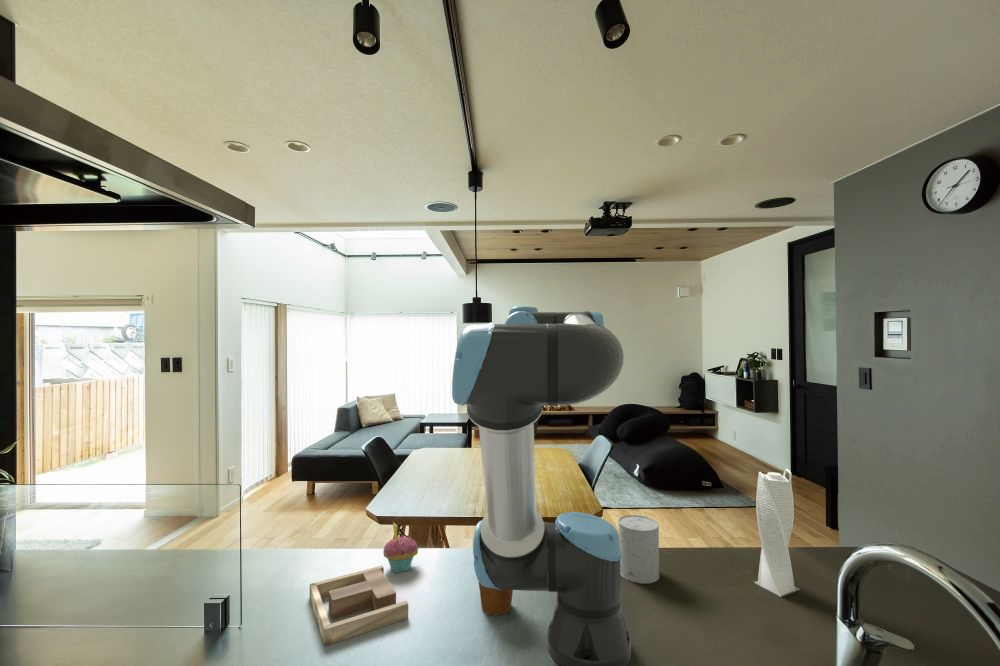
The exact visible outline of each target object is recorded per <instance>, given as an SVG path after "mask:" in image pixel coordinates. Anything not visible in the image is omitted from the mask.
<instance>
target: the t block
mask: <svg viewBox="0 0 1000 666" xmlns="http://www.w3.org/2000/svg"><path fill="white" fill-rule="evenodd" d="M394 604H397V591H396V590H395V589H394V588H393V586H392V584H391V582H390V581H389V580H388V578H387V576H385V573H384V574H383V572H382V571H381V569H380V568H379V569H375V570H372V571H368V572H364V573H362V582H361V583H357V584H353V585H349V586H346V587H342V588H338V589H335V590H331V591H329V596H328V611H329V615H330V617H331V621H334V620H337V619H338V620H339V619H340V618H344V617H347V616H351V615H355V614H357V613H361V612H364V611H367V610H371V609H372V611H374V610H377V609H381V608H384V607H387V606H390V605H394Z"/></svg>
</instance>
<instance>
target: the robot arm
mask: <svg viewBox="0 0 1000 666" xmlns="http://www.w3.org/2000/svg"><path fill="white" fill-rule="evenodd" d="M604 322H605V321H604V316H603V314H602V312H598V311H589V310H585V311H563V312H562V311H560V312H559V311H557V312H555V311H548V312H547V311H544V312H543V311H541V312H539V309H538V308H537V307H534V306H513V307H511V308H509V310H508V317H507V318H506V320H505V323H502V324H501V323H495V322H490V323H488V324H487V323H486V324H484V323H483V324H471V325H468V326H466V327H465V328H464V329H463V330H462V331H461V333H460V335H459V338H458V342H457V345H456V350H455V355H454V361H453V362H454V363H453V369H452V379H451V382H452V383H451V396H452V398H451V399H452V400H453V402H454V403H455V405H460V406H465V405H466V410H467V415H468V418H469V420H470V421H471V422H472V423H473V424H474V425H476V426H478V430H479V431H478V434H479V443H480V444H479V445H480V453H481V463H482V473H483V483H484V494H485V503H486V504H485V505H486V513H485V514H484V517H483V518H482V520H479V521H478V522H477V524H476V526H475V528H474V533H473V539H472V540H473V541H472V554H473V567H474V572H475V575H476V579H477V581H478V584H479V583H480V584H481V585H482V586H484V587H487V588H495V589H498V590H513V591H526V592H529V591H530V592H544V593H546V592H548V593H556V602H555V606H554V610H553V613H552V619H551V621H550V622H549V625H548V628H547V650H548V652H549V655H550V656H551V657H552V659H553V660H554V661H555V662H556V663H557V664H558V665H559V666H628V665H629V663H630V661H631V658H632V641H631V636H630V633H629V632H628V628H627V624H626V622H625V620H626V619H625V618H624V615H623V611H622V609H621V608H622V607H621V605H622V604H621V603H622V602H621V599H622V598H621V596H622V595H621V575H620V559H621V551H620V539H619V531H618V530H617V529H616V527H615V526H614V525H613V524H612V523H611V522H609V521H608V520H606V519H603V518H602V517H599V516H597V515H594V514H591V513H587V512H580V511H568V512H562V513H559V515H557V516H556V519H555V522H546V521H544V520H543V517H542V516H541V514H540V513H539V511H538V510H537V507H536V504H537V503H536V466H535V465H536V463H535V462H536V461H535V436H537V433H538V426H539V418H540V417H541V416H542V413H543V410H544V406H554V407H555V406H557V407H558V406H571V405H577V404H580V403H584V402H586V401H589V400H591V399H594V398H596V397H597V396H600V395H601V394H603V392H605V391H607V390H608V389H609V388H610V387H611V386H612V385H613V384H614V383H615V381H616V380H617V379H618V377H619V375H620V374H621V372H622V369H623V367H624V361H625V360H624V359H625V355H624V350H623V347H622V344H621V342H620V340H619V339H618V338H617V336H616V335H615V334H614V333H613V331H611V330H609V329H608V328H606V327H605V325H604V324H605V323H604Z"/></svg>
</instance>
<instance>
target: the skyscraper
mask: <svg viewBox="0 0 1000 666" xmlns="http://www.w3.org/2000/svg"><path fill="white" fill-rule="evenodd" d="M787 472H788V478H787V477H786V476H787V475H786V474H787ZM792 474H793V473H792V472H791V470H790V469H789V468H785V469H784V470H783V473H782V474H781V473H779V472H775V471H772V472H771V471H769V472H767V474H765V473H762V471H759V472H758V476H757V485H756V496H755V498H756V499H755V511H756V513H755V514H756V521H757V522H756V523H757V528H758V533H759V539H760V543H761V547H760V548H761V550H760V558H759V567H758V575H757V579H758V581H755V582H754V583H755V584H754V583H753V584H754V585H756V584H757V585H756V586H758V585H759V586H758V587H760V588H762V589H764V590H766V591H768V592H770V593H771V594H774V595H776V596H777V597H780V598H782V597H785V596H787V595H790V594H793V593H796V592H797V591H800V590H801V588H800V587H799V588H798V587H797V586H795V581H794V580H795V579H794V574H793V568H792V567H793V566H792V562H791V557H790V552H789V547H788V546H789V543H790V540H791V537H792V536H791V535H792V532H793V527H794V518H795V517H794V516H795V507H794V504H795V503H794V502H795V501H794V493H793V492H794V491H793V487H792Z"/></svg>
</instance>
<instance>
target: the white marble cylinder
mask: <svg viewBox="0 0 1000 666" xmlns="http://www.w3.org/2000/svg"><path fill="white" fill-rule="evenodd" d="M659 528H660V525H659V522H658V521H656V520H655V519H653V518H651V517H648V516H646V515H645V516H643V515H639V514H638V515H637V514H636V515H635V514H631V515H630V514H629V515H624V516H621V517H619V518H618V534H619V539H620V551H621V559H620V577H622V578H623V579H625V580H627V581H629V580H630V582H633V583H635V582H636V583H637V584H644V585H645V584H652V583H656V582H657V581H658V580H659V579H660V549H659V548H660V545H659V544H660V539H659V538H660V537H659V536H660V535H659Z"/></svg>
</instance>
